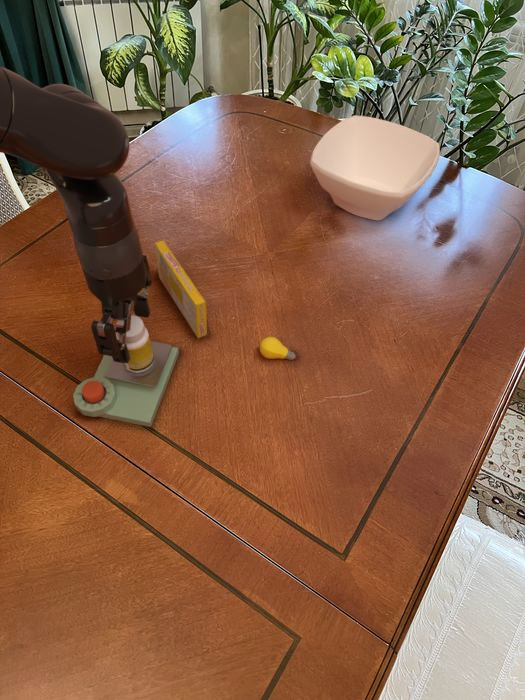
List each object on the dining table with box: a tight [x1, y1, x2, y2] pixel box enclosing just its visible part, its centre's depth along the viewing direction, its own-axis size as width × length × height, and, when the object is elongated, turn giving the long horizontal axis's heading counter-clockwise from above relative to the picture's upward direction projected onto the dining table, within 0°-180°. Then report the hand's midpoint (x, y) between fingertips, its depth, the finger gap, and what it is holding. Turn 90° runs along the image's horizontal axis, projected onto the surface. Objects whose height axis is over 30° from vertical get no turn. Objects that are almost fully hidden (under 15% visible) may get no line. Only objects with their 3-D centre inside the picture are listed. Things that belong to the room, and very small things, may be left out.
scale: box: [72, 346, 180, 428], centre depth 87 cm, size 15×12×3 cm
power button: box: [82, 381, 105, 403], centre depth 84 cm, size 3×3×2 cm
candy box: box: [154, 239, 208, 339], centre depth 95 cm, size 16×2×8 cm, turn 30°
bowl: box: [309, 114, 441, 221], centre depth 111 cm, size 22×22×12 cm
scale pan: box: [105, 340, 173, 388], centre depth 87 cm, size 8×8×1 cm
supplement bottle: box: [115, 314, 154, 373], centre depth 84 cm, size 5×5×8 cm
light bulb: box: [259, 336, 296, 361], centre depth 91 cm, size 3×6×4 cm, turn 76°
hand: (132, 337), depth 83 cm, fingers open, 8 cm apart
